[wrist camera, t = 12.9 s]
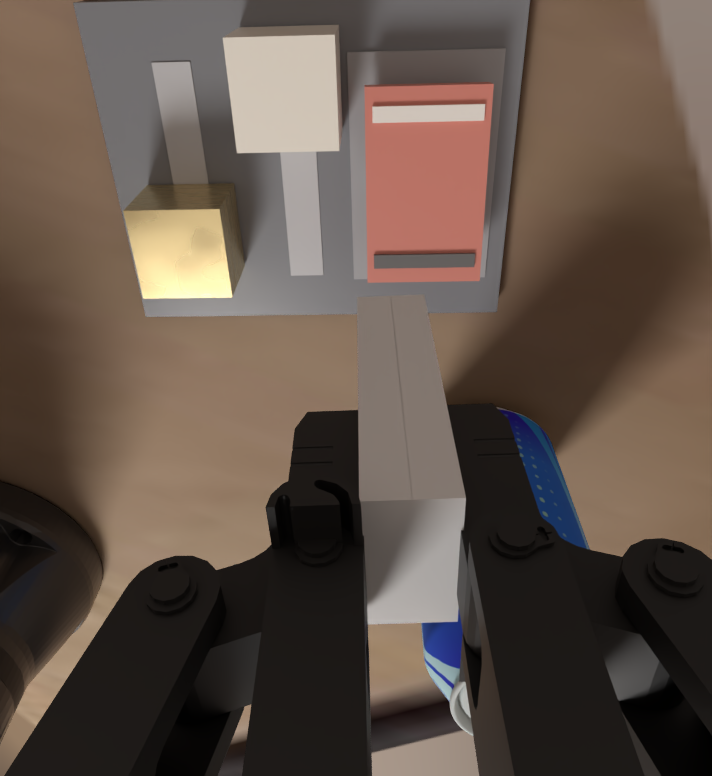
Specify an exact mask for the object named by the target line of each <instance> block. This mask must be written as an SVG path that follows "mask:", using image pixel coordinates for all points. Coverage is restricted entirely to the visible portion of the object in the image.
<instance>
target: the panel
mask: <svg viewBox="0 0 712 776" xmlns="http://www.w3.org/2000/svg"><path fill="white" fill-rule="evenodd" d="M73 4H74V9H75V13H76V17H77V22H78V26H79V30H80V34H81V39H82V43H83V47H84V52H85V56H86V60H87V65H88V69H89V73H90V78H91V82H92V86H93V91H94V95H95V99H96V104H97V108H98V112H99V117H100V121H101V125H102V129H103V134H104V138H105V142H106V147H107V151H108V155H109V160H110V164H111V168H112V173H113V177H114V181H115V186H116V190H117V194H118V199H119V203H120V207H121V212H122V216H123V220H124V224H125V229H126V233H127V237H128V242H129V246H130V250H131V255H132V259H133V263H134V268H135V272H136V276H137V281H138V285H139V289H140V294H141V298H142V302H143V307H144V311H145V315H146V317H173V316H246V315H320V314H357V297H374V296H399V295H424V296H425V301H426V306H427V311H428V313H468V312H497V306H498V296H499V287H500V278H501V268H502V259H503V250H504V240H505V231H506V221H507V212H508V203H509V193H510V184H511V175H512V165H513V156H514V146H515V137H516V128H517V118H518V109H519V100H520V90H521V81H522V71H523V62H524V53H525V43H526V34H527V25H528V15H529V6H530V0H97V1H80V2H74V3H73ZM305 25H339V42H340V70H341V99H342V127H343V131H342V137H341V143H340V150H339V151H319V152H272V153H237V150H236V142H235V134H234V126H233V117H232V109H231V101H230V93H229V85H228V77H227V69H226V61H225V53H224V45H223V37H224V36H226V35H228V34H229V33H231V32H232V31H234V30H236V29H237V28H239V27H268V26H305ZM463 82H491V83H493V84H494V88H493V102H492V116H491V130H490V143H489V157H488V171H487V185H486V199H485V213H484V227H483V241H482V255H481V269H480V281H450V282H383V283H368V280H367V217H366V155H365V92H364V86H365V85H380V84H421V83H463ZM220 183H234V184H235V192H236V200H237V207H238V215H239V223H240V231H241V238H242V246H243V254H244V261H245V267H244V269H243V272H242V274H241V277H240V279H239V282H238V284H237V287H236V290H235V292H234V295H233V297H228V298H159V299H143V296H142V291H141V287H140V283H139V278H138V274H137V269H136V265H135V261H134V256H133V252H132V248H131V243H130V239H129V235H128V230H127V226H126V222H125V217H124V213H123V210H124V209H125V208H126V207H127V206H128V205H129V204H130V203H131V202H132V201H133V200H134V199H135V197H136V196H137V195H138V194H139V193H140V192H141V191H142V190H143V189H144V188H145V187H146V186H147V185H169V184H220Z"/></svg>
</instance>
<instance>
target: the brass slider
mask: <svg viewBox="0 0 712 776" xmlns="http://www.w3.org/2000/svg"><path fill="white" fill-rule="evenodd" d="M123 213H124V217H125V222H126V226H127V230H128V235H129V239H130V243H131V248H132V252H133V256H134V261H135V265H136V269H137V274H138V278H139V283H140V287H141V291H142V296H143V299H159V298H228V297H233V295H234V292H235V290H236V287H237V284H238V282H239V279H240V277H241V274H242V272H243V269H244V267H245V261H244V254H243V246H242V238H241V231H240V223H239V215H238V207H237V200H236V192H235V184H234V183H220V184H169V185H147V186H146V187H145V188H144V189H143V190H142V191H141V192H140V193H139V194H138V195H137V196H136V197H135V199H134V200H133V201H132V202H131V203H130V204H129V205H128V206H127V207H126V208H125V209H124V210H123Z"/></svg>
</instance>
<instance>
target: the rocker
mask: <svg viewBox="0 0 712 776" xmlns="http://www.w3.org/2000/svg"><path fill="white" fill-rule="evenodd" d="M493 88H494V84H493V83H491V82H463V83H421V84H380V85H365V86H364V92H365V155H366V217H367V280H368V283H383V282H450V281H480V269H481V255H482V241H483V227H484V213H485V199H486V185H487V171H488V157H489V143H490V130H491V116H492V102H493Z"/></svg>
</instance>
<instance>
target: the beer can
mask: <svg viewBox="0 0 712 776" xmlns="http://www.w3.org/2000/svg"><path fill="white" fill-rule="evenodd" d="M496 408H497V409H499V410H500V411H501V412H502V413H503V414H504V415H505V416H506V417H507V418H508V419H509V422H510V425H511V428H512V431H513V434H514V437H515V441H516V443H517V446H518V449H519V452H520V457H521V458H522V461H523V464H524V467H525V470H526V473H527V476H528V479H529V482H530V485H531V488H532V491H533V494H534V497H535V500H536V503H537V506H538V509H539V512H540V514H541V516H542V518H543V519H545V520H546V521H547V522H549V523H550V524H551V525H553V526H554V528H555V529H556V531H557V533H558V534H559V536H560V537H561V538H562V539H564V540H566V541H568V542H570V543H572V544H574V545H576V546H579V547H582V548H586V549H589V546H588V543H587V540H586V538H585V535H584V532H583V529H582V527H581V524H580V521H579V518H578V516H577V513H576V510H575V507H574V504H573V502H572V499H571V496H570V493H569V491H568V488H567V485H566V482H565V480H564V477H563V474H562V471H561V468H560V466H559V463H558V460H557V457H556V455H555V452H554V449H553V446H552V443H551V441H550V439H549V437H548V436H547V434H546V433H545V432H544V430H543V429H542V428H541V427H540V426H539V425H538V424H537V423H535V422H534V421H532V420H531V419H529V418H528V417H526V416H524V415H521V414H519V413H516V412H513V411H509V410H506V409H503V408H499V407H496ZM589 550H590V549H589ZM421 624H422V638H423V652H424V660H425V664H426V668H427V670H428V672H429V674H430V676H431V678H432V680H433V681H434V682H435V684H436V685H437V686H438V688H439V689H440V690H441V691H442V693H443V694H444V695H445V697H446V698H447V699H448V700H449V702H450V710H451V714H452V716H453V718H454V720H455V721H456V723H457V724H458V725H459V726H460V727H461V728H462V729H463V730H464V731H466V732H467V733H469V734H470V735H472V736H473V729H472V723H471V716H470V709H469V703H468V696H467V689H466V683H465V682H459V674H460V660H461V647H462V634H463V631H462V624H461V618H460V612H459V609H458V622H432V623H421Z"/></svg>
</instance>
